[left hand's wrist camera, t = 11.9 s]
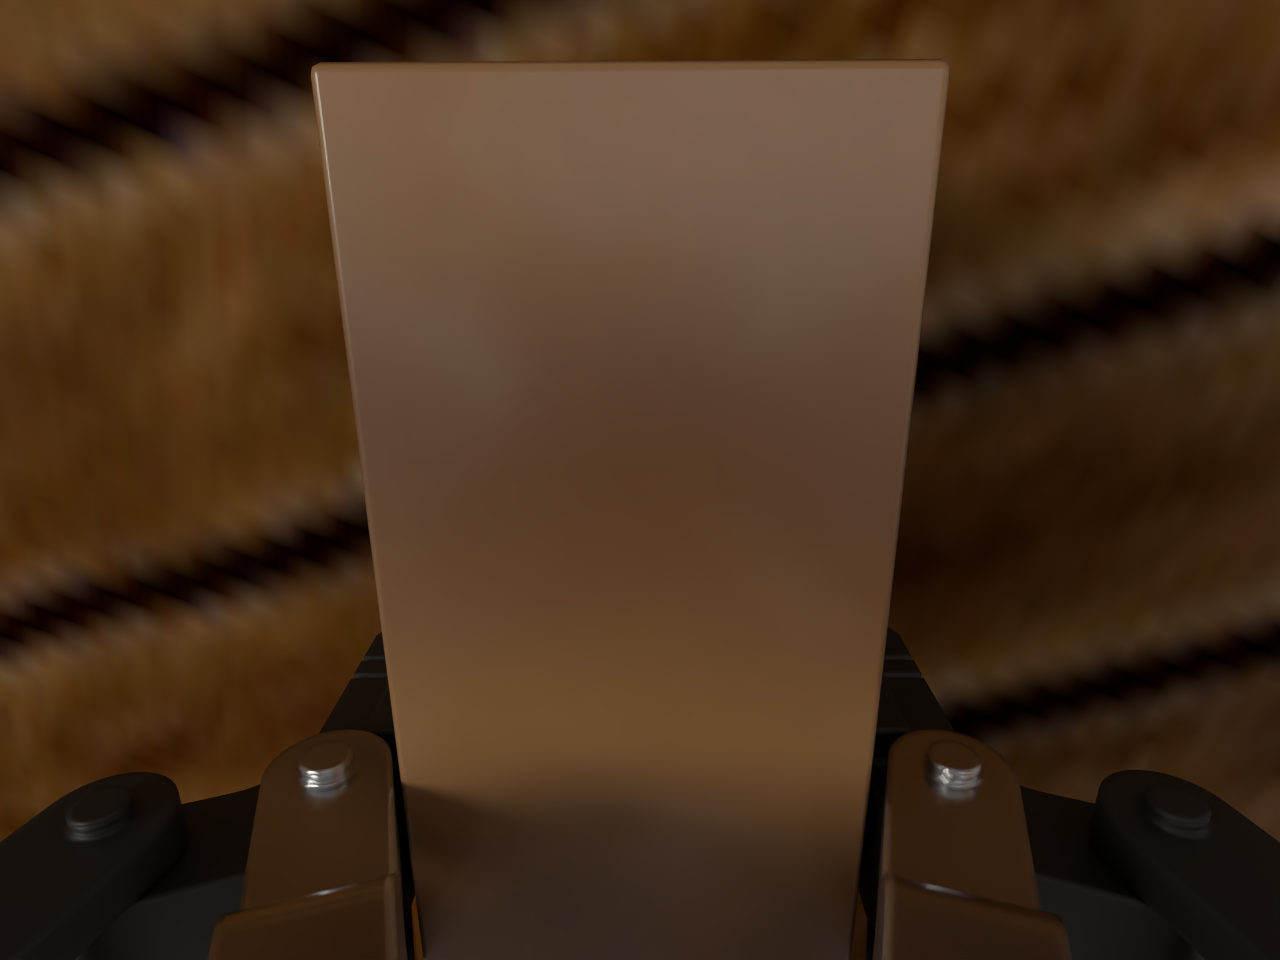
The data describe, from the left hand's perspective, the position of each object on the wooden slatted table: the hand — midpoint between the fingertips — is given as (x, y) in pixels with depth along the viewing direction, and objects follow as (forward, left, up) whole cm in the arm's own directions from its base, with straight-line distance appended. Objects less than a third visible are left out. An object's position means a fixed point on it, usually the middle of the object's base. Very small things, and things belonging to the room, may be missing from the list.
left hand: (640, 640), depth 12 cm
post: (+22, -4, -4) cm, 22 cm away
